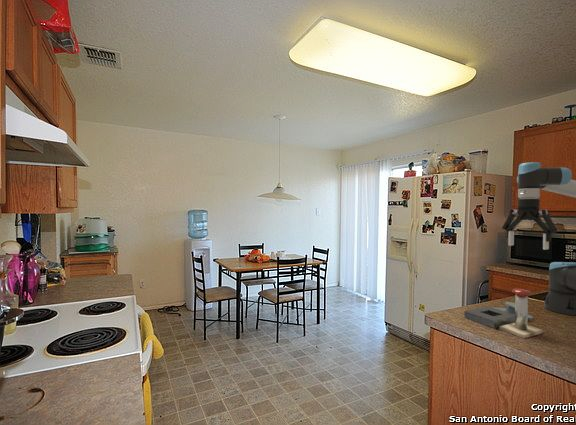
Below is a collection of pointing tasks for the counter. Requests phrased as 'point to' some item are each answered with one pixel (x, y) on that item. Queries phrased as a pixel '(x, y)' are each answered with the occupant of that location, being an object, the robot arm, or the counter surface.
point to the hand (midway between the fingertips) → (527, 247)
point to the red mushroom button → (521, 308)
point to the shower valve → (511, 309)
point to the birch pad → (521, 333)
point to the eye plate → (490, 316)
